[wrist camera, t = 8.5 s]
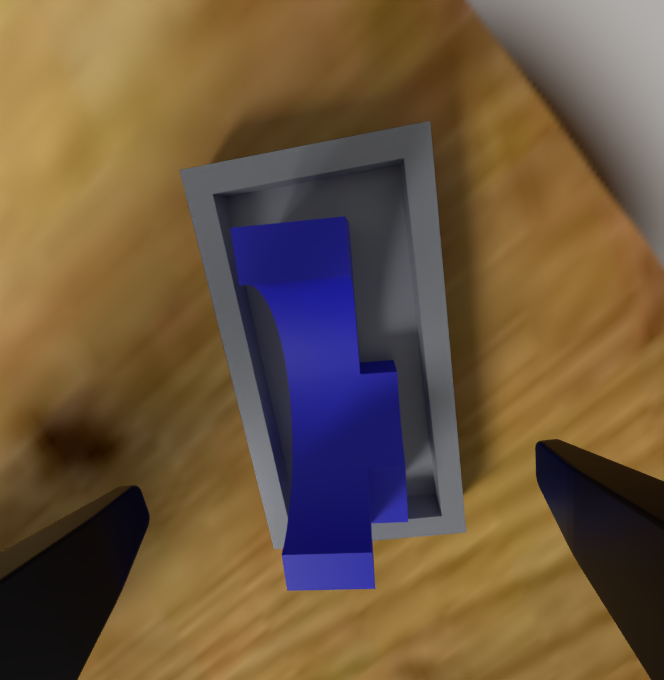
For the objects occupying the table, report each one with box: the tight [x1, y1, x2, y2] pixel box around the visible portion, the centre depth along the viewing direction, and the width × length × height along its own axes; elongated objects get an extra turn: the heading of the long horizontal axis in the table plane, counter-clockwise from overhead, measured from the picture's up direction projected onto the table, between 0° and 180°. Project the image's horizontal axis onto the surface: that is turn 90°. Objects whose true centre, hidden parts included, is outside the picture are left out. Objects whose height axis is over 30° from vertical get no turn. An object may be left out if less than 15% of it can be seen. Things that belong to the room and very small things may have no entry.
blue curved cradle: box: [230, 216, 408, 591], centre depth 14 cm, size 12×4×6 cm, turn 6°
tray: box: [180, 121, 466, 549], centre depth 17 cm, size 17×9×2 cm, turn 10°
